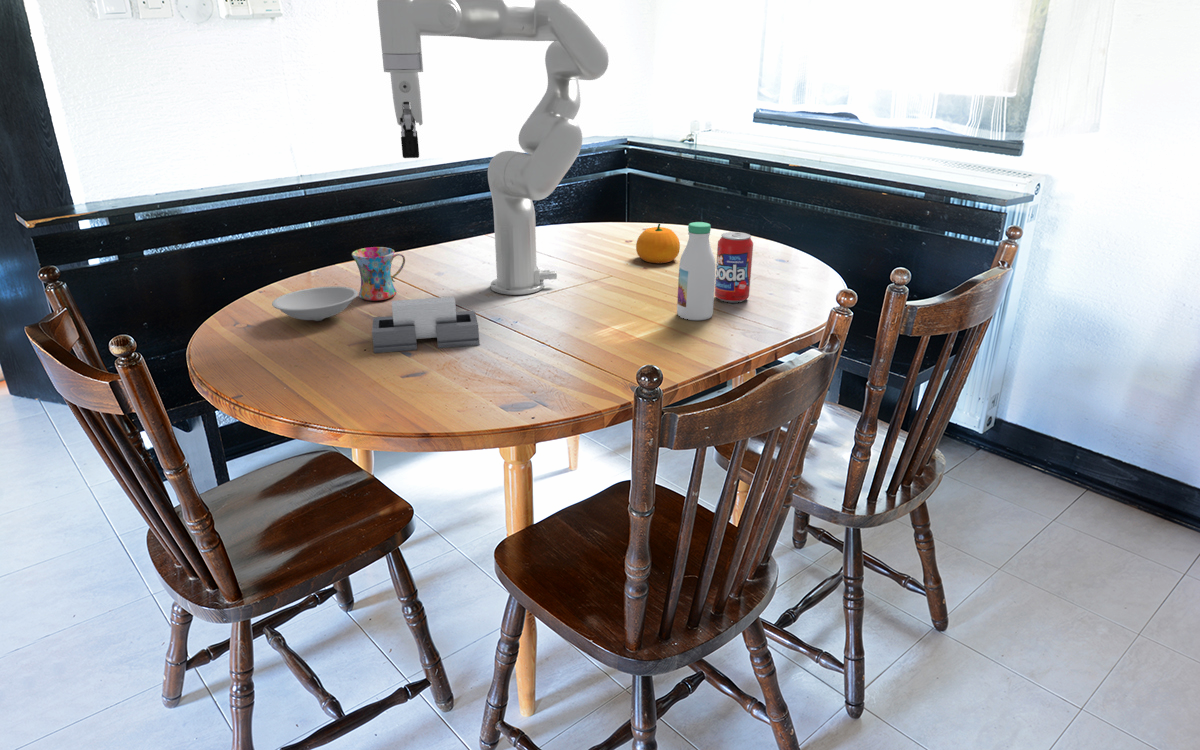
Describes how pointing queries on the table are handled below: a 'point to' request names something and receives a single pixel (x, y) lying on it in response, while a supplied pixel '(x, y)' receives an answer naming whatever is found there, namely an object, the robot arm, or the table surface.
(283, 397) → the table surface
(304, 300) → the dish
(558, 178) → the robot arm
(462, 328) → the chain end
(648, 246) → the fruit
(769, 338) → the table surface
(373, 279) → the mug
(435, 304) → the gray trapezoid plate
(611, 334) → the table surface
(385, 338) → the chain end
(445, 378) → the table surface
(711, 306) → the milk bottle
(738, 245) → the soda can
